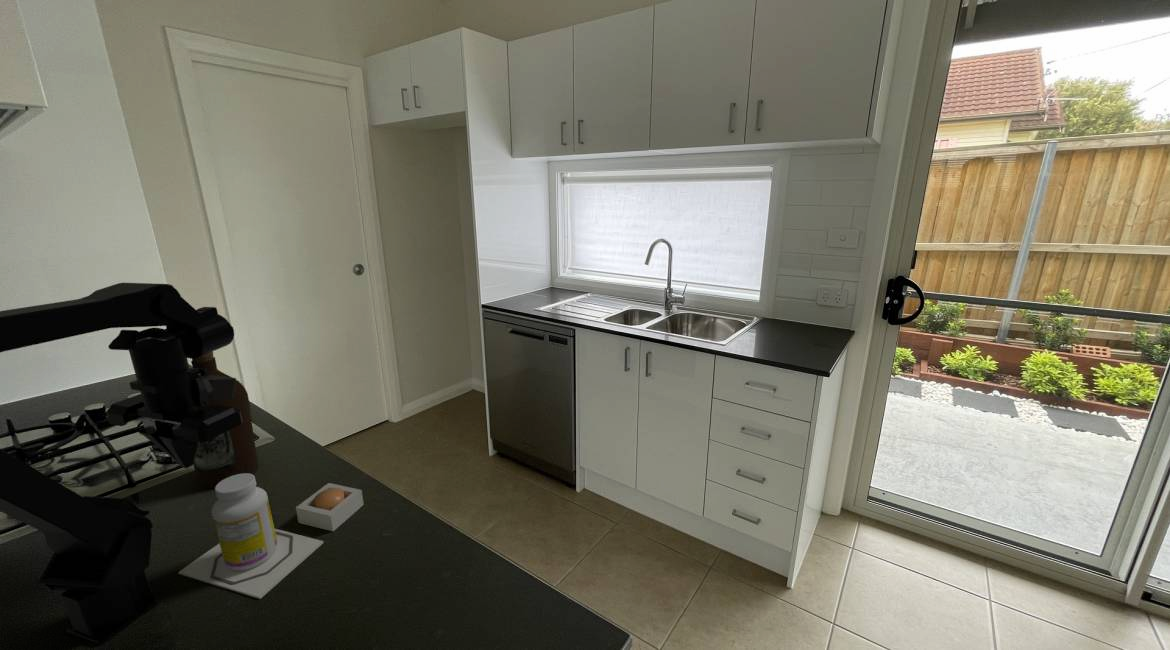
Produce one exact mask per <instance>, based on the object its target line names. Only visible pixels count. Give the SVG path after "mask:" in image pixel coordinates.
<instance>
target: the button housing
mask: <svg viewBox="0 0 1170 650" xmlns="http://www.w3.org/2000/svg"><path fill="white" fill-rule="evenodd" d="M330 488H340V489H342V490H343V492H344V498H345V499H344V500H343V501H342V502H340V503H339V504H338V505H337V506H335V507H334V508H333V509H332V510H331V511H329V510H325V509H321V508H317V507H315V501H314V499H315V496H316V495H317V494H318V493H320V492H322V491H324V490H326V489H330ZM363 498H364V497H363V490H362V489H359V488H355V487H349V486H345V485H340V484H336V483H330V482H328V483H327V484H325V485H324V486H323V487H321V488H319V490H317V491H316V492H314V493H313V494H312V495H311V496H308V498H307V499H305V500H304V501H302V502H301V503H300V504H299V505H297V506H296V507H295V510H296V511H295V512H296V515H297V521H298V523H299V524H302V525H306V526H311V527H314V528H318V529H320V530H321V529H323V530H326V531H330V532H335V530H337V529H338V528H339V527H340V526H341V525H342V524H343V523H345V521H347V520H348V519H350V517H352V516H353V515H354V514H355V513H356V512H357V511H358V510H359V509H361V508H362V506H364V499H363Z"/></svg>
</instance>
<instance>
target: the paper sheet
mask: <svg viewBox="0 0 1170 650" xmlns="http://www.w3.org/2000/svg"><path fill="white" fill-rule="evenodd" d="M275 533H276V537H277V549H276V551H275V552H274V554H273V555H272V556H271V557H270V558H269V559H268V560H266V561H265V562H263V563H262V564H260V565H258V566H256V567H253V568H250V569H246V570H231V569H229V568H228V567H227V566H226V565H225V562H224V559H223V555H222V551H221V547H220V543H219V542H218V543H217V545H215V546H213V547H212V548H210V549H209V550H208V551H206V552H205V553H204V554H202V555H201V556H199V557H198V558H196V559H195V560H193V561H192V562H190V563H189V564H188V565H187V566H184V567H183V568H182V569H181V570H179V571H178V572H177V573H178V574H179V575H181V576H184V577H188V578H191V579H194V580H198V581H201V582H204V583H207V584H210V585H213V586H216V587H219V588H223V589H227V590H230V591H233V592H236V593H238V594H239V593H240V594H243V595H246V596H248V597H253V598H255V599H259V600H261V599H262V598H263V597H264V596H265V595H267V593H269V592H270V591H271V590H272V589H274V587H275V586H277V585H278V584H279V583H280V582H281V581H282V580H284V579H285V578H286V576H288V575H289V574H290V573H292V571H294V570H296V568H297V567H298V566H299V565H301V563H302V562H304V561H305V560H307V558H308V557H309V556H310V555H311V554H313V553H315V551H316V550H317V549H318V548H320V546H322V545H323V544H324V540H320V539H316V538H312V537H310V536H305V535H300V534H296V533H293V532H289V531H285V530H281V529H278V528H275Z"/></svg>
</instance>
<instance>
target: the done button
mask: <svg viewBox="0 0 1170 650" xmlns="http://www.w3.org/2000/svg"><path fill="white" fill-rule="evenodd" d="M344 499H345V498H344V492H343V490H342V489H340V488H330V489H326V490H324V491H322V492H320V493H318V494H317V495H316V496H315V499H314V501H315V507H317V508H321V509H325V510H329V511H331V510H332V509H333V508H334V507H335V506H337V505H338V504H339V503H340V502H342V501H343V500H344Z"/></svg>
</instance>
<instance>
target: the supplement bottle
mask: <svg viewBox="0 0 1170 650" xmlns="http://www.w3.org/2000/svg"><path fill="white" fill-rule="evenodd" d="M214 492H215V497H216V498H217V500H216V501H215V503H214V504H213V506H212V508H211V516H212V520H213V524H214V527H215V532H216V535H217V538H218V544H219V543H220V547H221V551H222V555H223V559H224V562H225V565H226V566H227V567H228V568H229V569H231V570H246V569H250V568H253V567H256V566H258V565H260V564H262V563H263V562H265V561H266V560H268V559H269V558H270V557H271V556H272V555H273V554H274V552H275V551H276V549H277V537H276V533H275V529H276V528H275V524H274V520H273V516H272V510H271V507H270V502H269V497H268V493H267V492H266V491H265V489H263V488H261V487H259V486H257V481H256V477H255V475H254V474H253V475H252V474H249V473H243V474H237V475H233V476H230V477H228V478H226V479H224V480H222V481H221V482H219V483H218V484H217V485H216V487H215V488H214Z"/></svg>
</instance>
